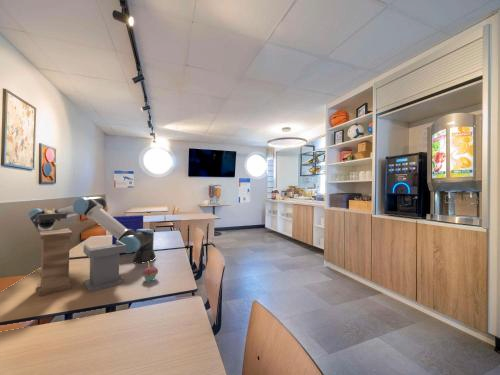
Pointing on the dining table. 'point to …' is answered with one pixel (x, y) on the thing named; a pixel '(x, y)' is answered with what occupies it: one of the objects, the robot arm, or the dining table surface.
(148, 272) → the cupcake
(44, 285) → the pin stand
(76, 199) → the robot arm
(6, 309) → the dining table surface
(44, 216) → the pin
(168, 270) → the dining table surface
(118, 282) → the tray stand
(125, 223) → the cereal box
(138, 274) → the dining table surface
